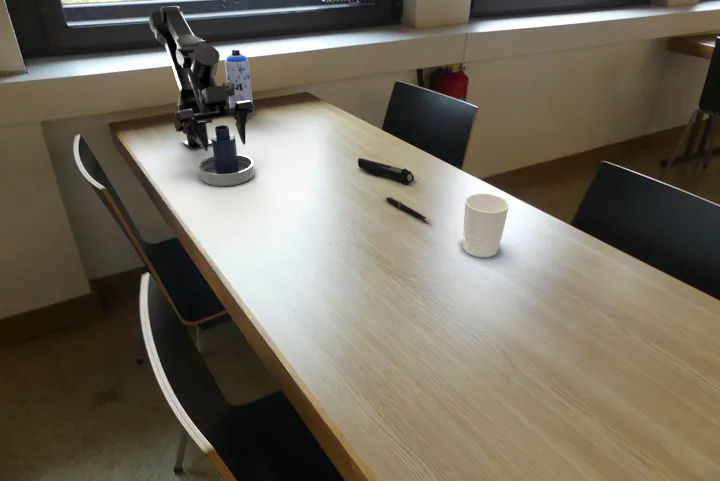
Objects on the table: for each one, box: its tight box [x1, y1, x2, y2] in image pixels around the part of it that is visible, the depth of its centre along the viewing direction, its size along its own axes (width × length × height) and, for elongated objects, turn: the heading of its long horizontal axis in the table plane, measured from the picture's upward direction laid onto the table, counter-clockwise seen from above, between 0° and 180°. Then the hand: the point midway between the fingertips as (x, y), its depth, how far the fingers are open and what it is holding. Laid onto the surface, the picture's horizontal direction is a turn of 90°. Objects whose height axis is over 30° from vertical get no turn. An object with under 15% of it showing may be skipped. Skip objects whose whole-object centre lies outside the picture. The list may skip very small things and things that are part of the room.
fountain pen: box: [385, 195, 430, 222], centre depth 116 cm, size 14×1×2 cm, turn 38°
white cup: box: [462, 193, 510, 258], centre depth 101 cm, size 8×8×10 cm
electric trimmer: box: [357, 157, 415, 185], centre depth 132 cm, size 4×16×3 cm, turn 55°
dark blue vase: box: [210, 124, 239, 174], centre depth 129 cm, size 6×6×12 cm
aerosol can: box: [224, 49, 255, 115], centre depth 170 cm, size 8×8×20 cm
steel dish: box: [198, 153, 256, 187], centre depth 131 cm, size 13×13×3 cm
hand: (226, 147), depth 127 cm, fingers open, 9 cm apart
